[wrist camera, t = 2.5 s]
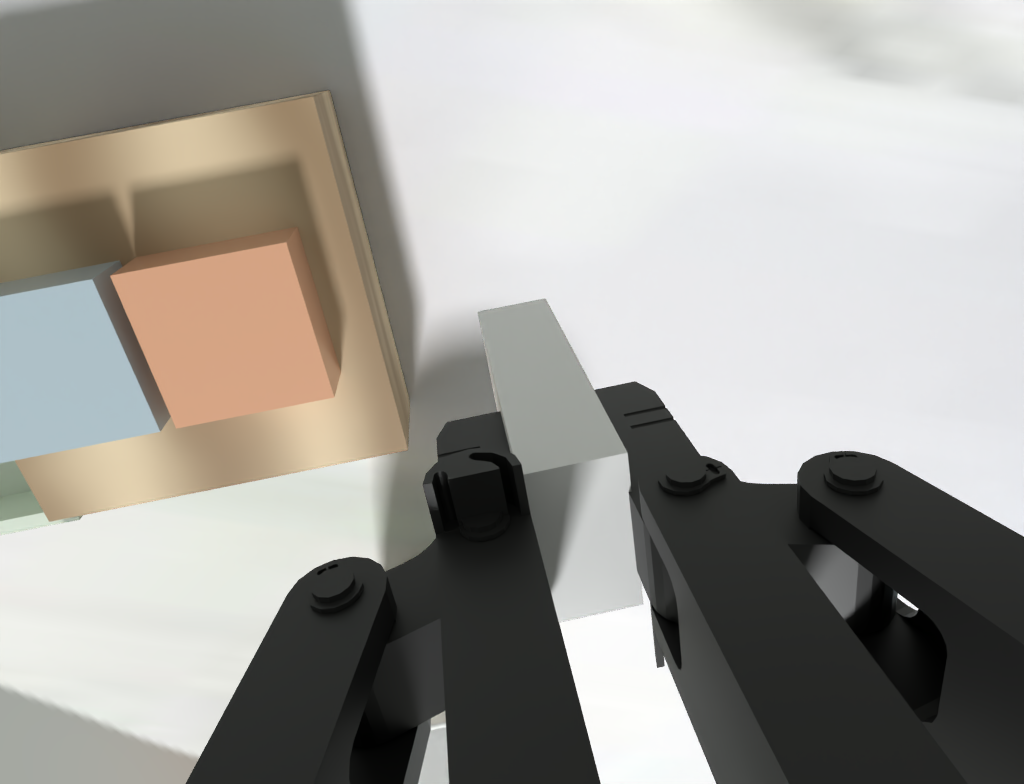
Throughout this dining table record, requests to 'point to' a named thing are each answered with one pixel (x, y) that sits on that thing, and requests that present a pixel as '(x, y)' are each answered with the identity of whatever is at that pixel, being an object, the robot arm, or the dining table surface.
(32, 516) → the tray
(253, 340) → the tile
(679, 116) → the dining table surface
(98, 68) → the dining table surface
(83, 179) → the tan square panel
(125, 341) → the tile
